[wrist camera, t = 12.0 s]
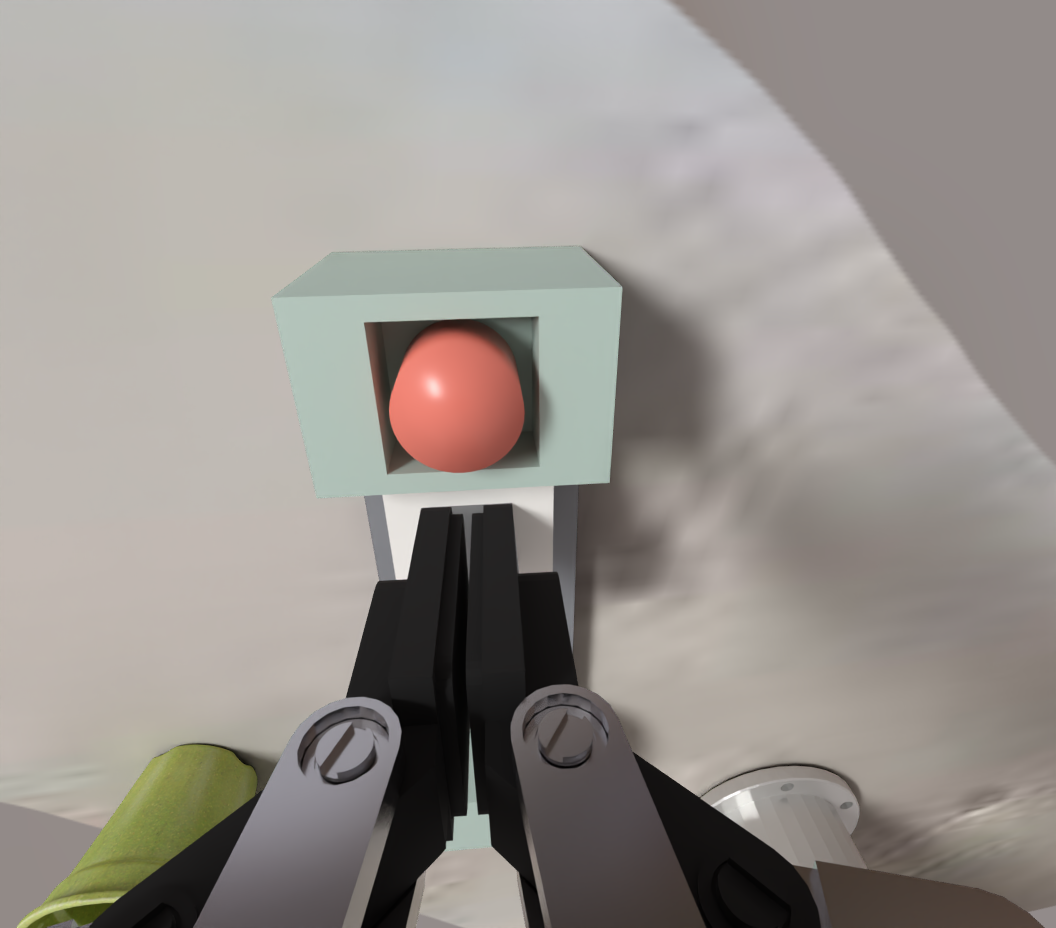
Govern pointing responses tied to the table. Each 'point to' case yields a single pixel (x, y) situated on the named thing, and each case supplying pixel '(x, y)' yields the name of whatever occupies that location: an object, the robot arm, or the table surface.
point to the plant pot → (150, 829)
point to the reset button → (457, 397)
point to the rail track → (375, 359)
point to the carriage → (527, 514)
